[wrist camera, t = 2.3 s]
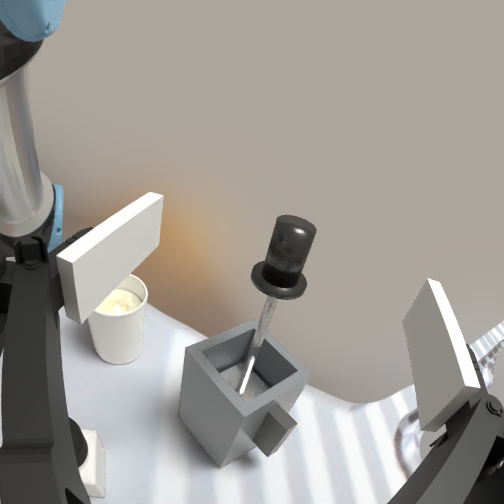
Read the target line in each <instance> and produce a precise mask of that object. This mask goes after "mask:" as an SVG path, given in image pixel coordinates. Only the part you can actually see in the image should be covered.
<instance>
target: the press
mask: <svg viewBox="0 0 504 504" xmlns="http://www.w3.org/2000/svg"><path fill="white" fill-rule="evenodd" d="M258 323H259V322H258V321H257V320H256V319H253V320H251V321H249V322H246V323H244V324H242V325H239V326H237V327H235V328H232V329H230V330H228V331H225V332H223V333H220V334H218V335H215V336H213V337H210V338H208V339H206V340H203V341H201V342H198V343H196V344H193V345H191V346H188V347H186V349H185V357H184V366H183V374H182V384H181V393H180V403H179V414H178V417H179V418H180V419H181V421H182V422H183V423H184V425H185V426H186V427H187V429H188V430H189V431H190V433H191V434H192V435H193V436H194V438H195V439H196V440H197V442H198V443H199V444H200V445H201V447H202V448H203V449H204V450H205V452H206V453H207V454H208V455H209V456H210V458H211V459H212V460H213V461H214V462H215V464H216V465H217V466H218V467H219V468H220V469H221V468H223V467H225V466H226V465H228V464H230V463H231V462H233V461H234V460H236V459H238V458H239V457H241V456H242V455H244V454H246V453H247V452H249V451H250V450H252V449H253V448H255V447H256V446H257V447H258V448H259V449H260V450H261V451H262V452H263V453H264V454H265V455H266V456H267V457H269V456H270V455H272V454H273V453H274V452H276V451H277V450H278V449H279V447H280V446H281V445H282V443H283V442H284V441H285V440H286V438H287V437H288V436H289V434H290V433H291V432H292V430H293V429H294V427H295V426H296V425H297V422H296V421H295V420H294V419H293V418H292V417H291V416H290V415H289V414H288V413H289V411H290V409H291V408H292V406H293V405H294V403H295V401H296V400H297V398H298V397H299V395H300V393H301V392H302V390H303V389H304V387H305V385H306V384H307V382H308V380H309V379H310V377H311V375H312V372H311V371H310V370H309V369H308V368H307V367H306V366H305V365H304V364H302V363H301V362H300V361H299V360H298V359H297V358H296V357H295V356H294V355H293V354H292V353H291V352H290V351H288V350H287V349H286V348H285V347H284V346H283V345H282V344H281V343H280V342H279V341H278V340H277V339H276V338H275V337H274V336H272V335H271V334H270V333H269V332H268V331H267V332H266V335H265V337H264V340H263V343H262V346H261V348H260V351H259V354H258V356H257V359H256V362H255V364H254V367H253V371H254V372H255V373H256V375H257V376H258V377H259V378H260V379H261V380H262V381H263V382H264V383H265V384H266V385H267V386H268V387H269V388H270V389H269V390H267V391H265V392H264V393H262V394H260V395H259V396H257V397H255V398H254V399H252V400H250V401H248V402H247V403H246V402H245V401H244V400H243V399H242V398H241V397H240V396H239V395H238V393H237V392H236V391H235V390H234V389H233V388H232V387H231V386H230V384H229V383H228V382H227V381H226V380H225V379H224V378H223V376H222V375H221V374H220V373H221V372H223V371H225V370H227V369H229V368H231V367H233V366H235V365H237V364H239V363H241V362H243V361H244V362H246V359H247V356H248V353H249V350H250V347H251V344H252V341H253V338H254V335H255V332H256V329H257V326H258Z"/></svg>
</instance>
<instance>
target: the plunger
mask: <svg viewBox="0 0 504 504" xmlns="http://www.w3.org/2000/svg"><path fill="white" fill-rule="evenodd" d="M315 234H316V228H315V226H314V225H313V224H312V223H310V222H308V221H307V220H305V219H302V218H300V217H296V216H292V215H282V216H279V217H278V218H277V220H276V224H275V227H274V231H273V234H272V238H271V241H270V245H269V248H268V252H267V255H266V258H265V261H262V262H259V263H257V264H256V265H255V266H254V267H253V270H252V273H251V280H252V282H253V284H254V285H255V286H256V288H257V289H259V290H260V291H262V292H263V293H265V294H266V295H268V296H267V299H266V302H265V305H264V308H263V311H262V314H261V318H260V320H259V323H258V326H257V329H256V332H255V335H254V338H253V341H252V344H251V347H250V350H249V353H248V356H247V359H246V362H244V361H243V362H241V363H239V364H237V365H235V366H233V367H231V368H229V369H227V370H225V371H223V372H221V373H220V374H221V375H222V376H223V378H224V379H225V380H226V381H227V382H228V383H229V384H230V386H231V387H232V388H233V389H234V390H235V391H236V392H237V393H238V395H239V396H240V397H241V398H242V399H243V400H244V401H245V402H246V403H247V402H248V401H250V400H252V399H254V398H255V397H257V396H259V395H260V394H262V393H264V392H265V391H267V390H269V389H270V388H269V387H268V386H267V385H266V384H265V383H264V382H263V381H262V380H261V379H260V378H259V377H258V376H257V375H256V373H255V372H254V371H253V367H254V364H255V362H256V359H257V356H258V354H259V351H260V348H261V346H262V343H263V340H264V337H265V335H266V332H267V329H268V326H269V323H270V321H271V318H272V315H273V313H274V310H275V307H276V304H277V301H278V299H285V300H290V299H296V298H298V297H300V296H301V295H303V293H304V291H305V289H306V286H307V281H306V278H305V277H304V275H303V274H302V270H303V267H304V264H305V262H306V259H307V256H308V254H309V251H310V248H311V245H312V243H313V239H314V237H315Z"/></svg>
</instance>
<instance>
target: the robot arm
mask: <svg viewBox="0 0 504 504" xmlns="http://www.w3.org/2000/svg"><path fill="white" fill-rule="evenodd" d="M65 4H66V0H0V356H1V353H2V351H3V348H4V351H3V365H2V391H1V411H2V436H3V444H2V447H0V500H1V504H91V502H90V499H89V496H88V493H87V491H86V489H85V486H84V484H83V482H82V479H81V476H80V472H79V468H78V464H77V460H76V455H75V451H74V446H73V441H72V435H71V430H70V424H69V418H68V412H67V405H66V398H65V390H64V381H63V371H62V359H61V343H60V317H59V313H58V310H59V309H60V308H61V307H63V306H64V307H65V312H66V316H67V317H68V318H70V319H72V320H74V321H76V322H78V323H80V324H82V323H83V322H84V321H85V320H86V319H87V318H88V317H89V316H90V315H91V314H92V312H93V311H94V310H95V309H96V308H97V307H98V306H99V305H100V304H101V303H102V302H103V301H104V300H105V299H106V298H107V297H108V296H109V295H110V294H111V293H112V291H113V290H114V289H115V288H116V287H117V286H118V285H119V284H120V283H121V282H122V281H123V280H124V279H125V278H126V277H127V276H128V275H129V274H130V273H131V272H132V271H133V270H134V269H135V268H136V267H137V266H138V265H139V264H140V263H141V262H142V261H143V260H144V259H145V258H146V257H147V256H148V255H149V254H150V253H151V252H152V251H153V250H154V249H155V248H156V247H158V246H159V239H160V227H161V217H162V207H163V206H162V205H163V195H160V194H156V193H152V192H149V193H147V194H146V195H144V196H143V197H141V198H139V199H138V200H136V201H135V202H133V203H131V204H130V205H128V206H127V207H125V208H124V209H122V210H121V211H119V212H118V213H116V214H115V215H113V216H112V217H110V218H109V219H107V220H106V221H104V222H103V223H101V224H100V225H98V226H97V227H95V228H92V227H89V228H86V229H84V230H81V231H79V232H78V233H76V234H75V235H73V236H72V238H71V237H70V238H69V239H67V240H66V241H65V242H63V243H62V226H63V187H62V186H61V185H56V184H51V183H50V180H49V179H48V178H47V177H46V176H45V174H43V173H42V172H41V171H40V170H39V164H38V158H37V152H36V146H35V138H34V131H33V122H32V113H31V101H30V87H29V64H28V63H30V62H31V61H32V60H33V59H34V57H35V56H36V55H37V54H38V52H39V51H40V49H41V47H42V45H43V42H44V38H47V37H48V36H50V35H52V34H53V33H54V32H55V31H56V29H57V28H58V26H59V24H60V21H61V18H62V15H63V12H64V8H65ZM6 257H15V260H16V262H12V261H7V260H6ZM403 326H404V331H405V336H406V341H407V346H408V351H409V356H410V362H411V367H412V373H413V379H414V385H415V392H416V399H417V406H418V414H419V422H420V430H423V431H431V432H436V431H437V430H438V429H439V428H441V427H442V426H443V425H444V424H446V430H447V431H446V432H445V433H444V434H443V435H441V436H440V437H439V438H438V439H437V440H435V441H434V442H433V443H432V444H431V445H430V447H432V446H433V445H434V447H433V448H432V449H431V451H430V452H429V454H428V455H427V456H426V458H425V459H424V460H423V462H422V463H421V464H420V465H419V467H418V468H417V469H416V471H415V472H414V473H413V474H412V476H411V477H410V478H409V479H408V480H407V482H406V483H405V484H404V485H403V486H402V488H401V489H400V490H399V491H398V492H397V493H396V495H395V496H394V497H393V498H392V499H391V500H390V501H389V502H388V503H387V504H504V462H503V464H502V466H501V467H500V463H501V462H502V461H504V409H503V406H502V404H501V403H500V401H499V400H498V399H497V398H496V397H494V396H493V395H490V394H488V392H487V389H486V386H485V383H484V380H483V377H482V374H481V371H480V368H479V365H478V364H477V360H476V357H475V354H474V352H473V351H472V349H471V348H470V347H469V345H468V344H465V341H464V339H463V336H462V333H461V331H460V329H459V326H458V323H457V321H456V319H455V316H454V314H453V311H452V309H451V306H450V304H449V302H448V300H447V297H446V295H445V293H444V291H443V288H442V286H441V284H440V282H437V281H434V280H431V279H428V278H427V280H426V281H425V284H424V285H423V287H422V289H421V290H420V292H419V294H418V296H417V297H416V300H415V301H414V303H413V304H412V306H411V308H410V310H409V311H408V313H407V314H406V316H405V318H404V319H403Z"/></svg>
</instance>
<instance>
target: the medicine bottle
mask: <svg viewBox="0 0 504 504" xmlns="http://www.w3.org/2000/svg"><path fill="white" fill-rule="evenodd" d="M68 418H69V417H68ZM69 424H70V430H71V435H72V441H73V446H74V451H75V455H76V460H77V464H78V468H79V472H80V476H81V479H82V482H83V484H84V486H85V489H86V491H87V493H88V496H94V497H102V498H104V497H105V496H106V488H105V450H104V448H103V446H102V443H101V441H100V439H99V436H98V434H97V432H96V431H94V430H86V429H80V427H79V426H78V425H77V423H76V422H75V421H74V420H72V419H71V418H69Z"/></svg>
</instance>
